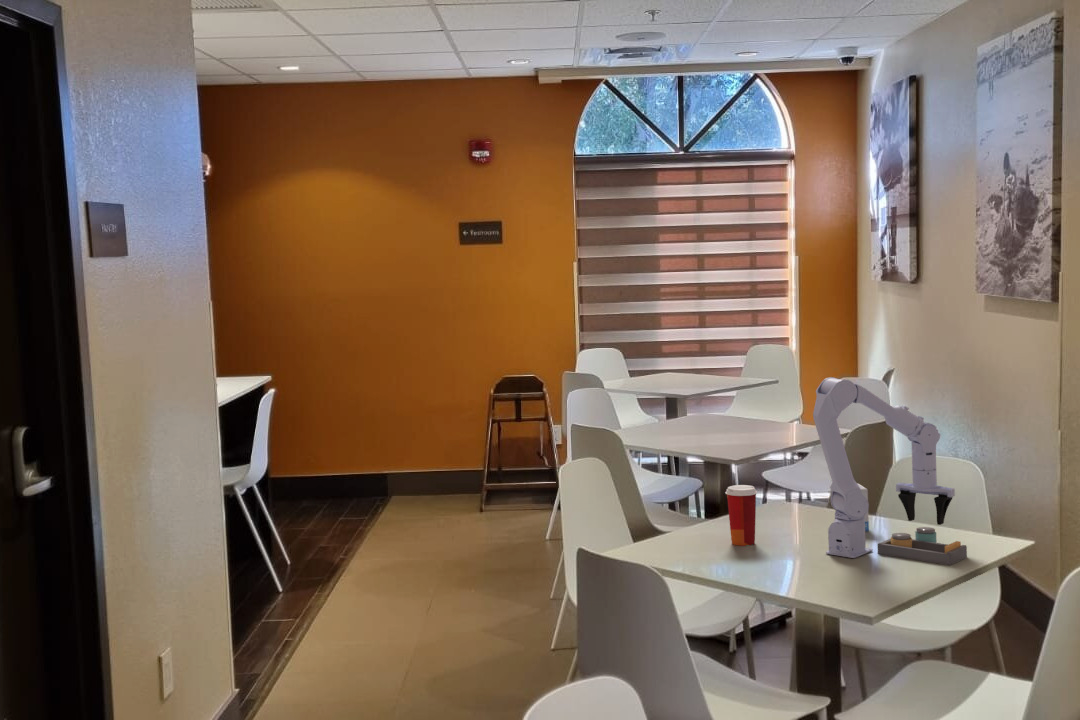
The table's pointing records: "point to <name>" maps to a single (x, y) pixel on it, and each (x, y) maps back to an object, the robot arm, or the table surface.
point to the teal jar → (926, 534)
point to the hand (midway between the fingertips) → (925, 522)
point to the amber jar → (901, 540)
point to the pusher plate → (952, 546)
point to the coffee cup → (742, 514)
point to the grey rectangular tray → (924, 552)
